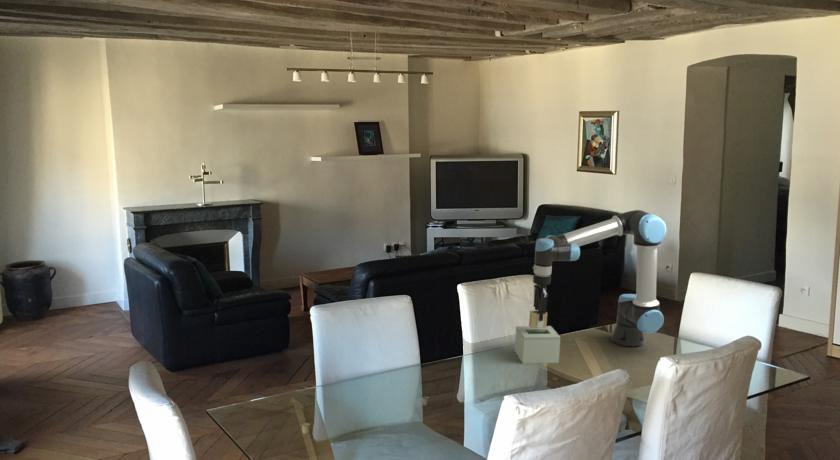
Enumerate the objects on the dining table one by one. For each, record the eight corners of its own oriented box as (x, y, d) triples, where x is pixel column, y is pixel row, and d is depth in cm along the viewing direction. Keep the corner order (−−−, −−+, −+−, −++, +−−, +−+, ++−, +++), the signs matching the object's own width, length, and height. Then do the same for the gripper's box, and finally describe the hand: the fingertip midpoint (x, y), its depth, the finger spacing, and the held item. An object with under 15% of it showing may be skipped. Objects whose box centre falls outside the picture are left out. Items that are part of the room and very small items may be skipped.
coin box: (548, 351, 327) (550, 326, 325) (558, 363, 314) (560, 337, 311) (514, 351, 325) (516, 326, 323) (522, 363, 312) (524, 337, 309)
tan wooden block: (544, 325, 318) (545, 310, 317) (546, 328, 315) (547, 312, 314) (528, 325, 317) (530, 310, 316) (530, 328, 314) (532, 312, 313)
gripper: (528, 269, 319) (525, 319, 324) (539, 279, 303) (535, 332, 308) (545, 269, 320) (541, 319, 325) (556, 279, 304) (552, 332, 309)
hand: (538, 325), depth 316 cm, fingers closed on tan wooden block, 3 cm apart
